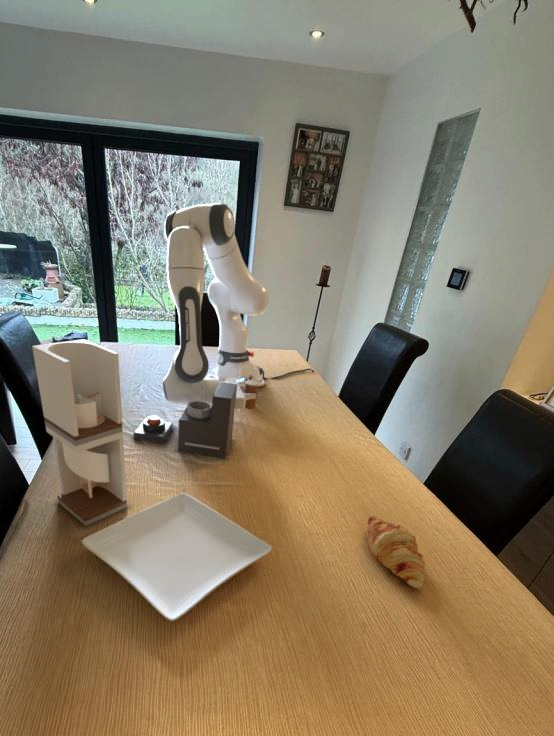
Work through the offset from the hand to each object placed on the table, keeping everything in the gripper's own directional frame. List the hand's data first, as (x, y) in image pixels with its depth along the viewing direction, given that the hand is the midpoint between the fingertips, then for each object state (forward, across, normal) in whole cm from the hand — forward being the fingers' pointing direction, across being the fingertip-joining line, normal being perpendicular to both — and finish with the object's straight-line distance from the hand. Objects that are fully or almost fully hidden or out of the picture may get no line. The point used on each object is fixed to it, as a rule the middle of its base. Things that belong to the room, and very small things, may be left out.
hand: (253, 392), depth 139 cm
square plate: (-30, -68, +9) cm, 75 cm away
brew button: (-33, -12, +6) cm, 36 cm away
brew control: (-33, -12, +10) cm, 37 cm away
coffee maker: (-18, -20, +10) cm, 29 cm away
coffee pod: (-1, 0, +5) cm, 5 cm away
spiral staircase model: (-48, -49, +9) cm, 70 cm away
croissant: (+15, -71, +10) cm, 74 cm away
